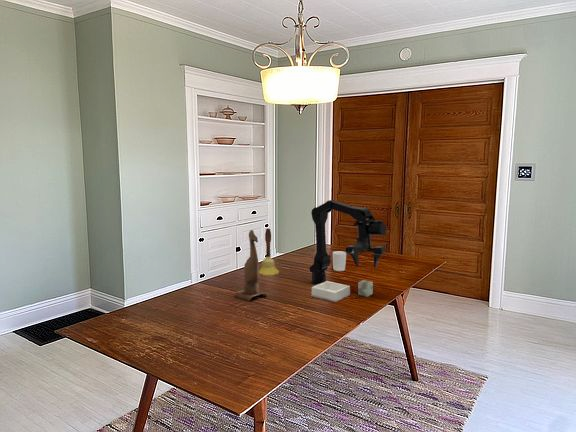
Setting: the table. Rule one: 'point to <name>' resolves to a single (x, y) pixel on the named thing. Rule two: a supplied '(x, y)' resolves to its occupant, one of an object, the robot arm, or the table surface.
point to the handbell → (268, 258)
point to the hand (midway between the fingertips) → (366, 267)
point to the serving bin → (330, 291)
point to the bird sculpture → (251, 273)
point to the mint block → (365, 288)
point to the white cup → (339, 260)
